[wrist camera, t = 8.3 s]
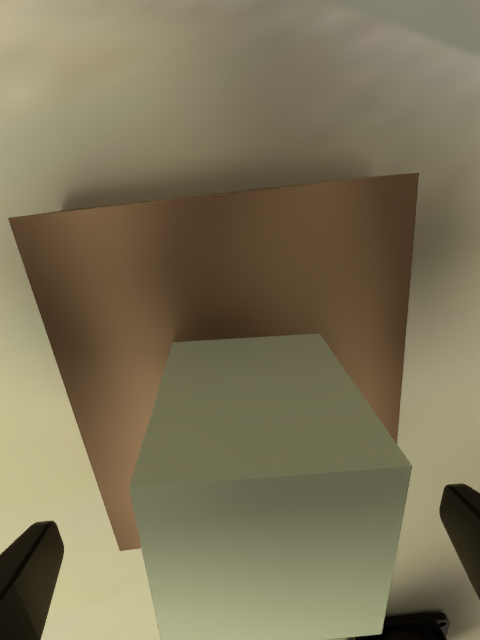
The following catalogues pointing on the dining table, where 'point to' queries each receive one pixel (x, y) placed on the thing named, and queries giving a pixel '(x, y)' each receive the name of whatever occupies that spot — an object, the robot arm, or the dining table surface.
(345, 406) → the sage cube
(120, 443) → the walnut block
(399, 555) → the dining table surface
